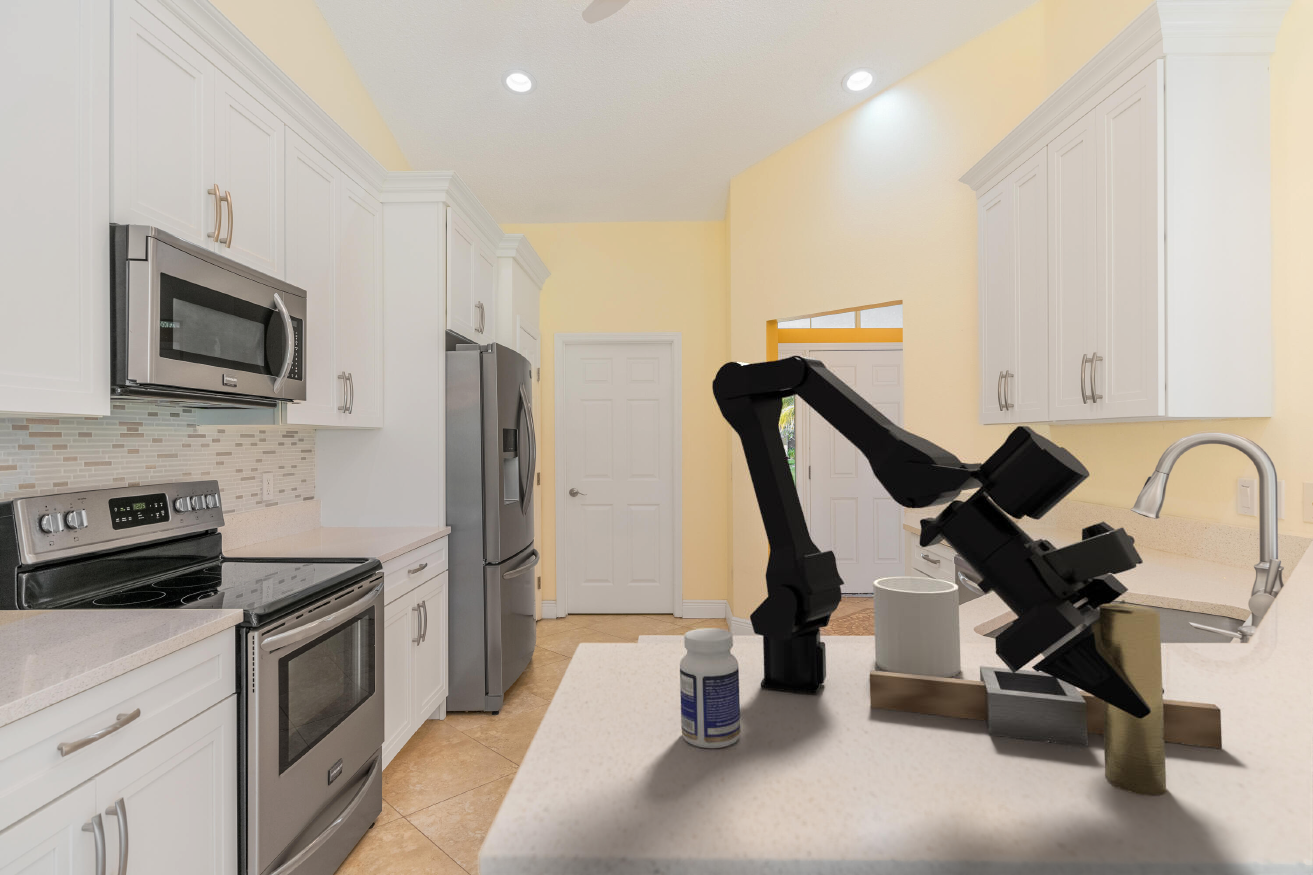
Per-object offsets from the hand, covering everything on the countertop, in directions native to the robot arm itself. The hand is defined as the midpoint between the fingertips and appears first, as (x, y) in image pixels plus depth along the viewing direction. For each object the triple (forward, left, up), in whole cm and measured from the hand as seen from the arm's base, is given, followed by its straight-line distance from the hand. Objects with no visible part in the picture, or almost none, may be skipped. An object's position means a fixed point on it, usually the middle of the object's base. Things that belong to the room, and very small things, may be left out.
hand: (1153, 705), depth 52 cm
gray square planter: (-7, +11, -7) cm, 14 cm away
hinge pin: (-1, +1, -7) cm, 7 cm away
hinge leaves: (-7, +11, -7) cm, 14 cm away
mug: (-18, +27, -7) cm, 33 cm away
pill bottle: (-36, -2, -7) cm, 37 cm away
